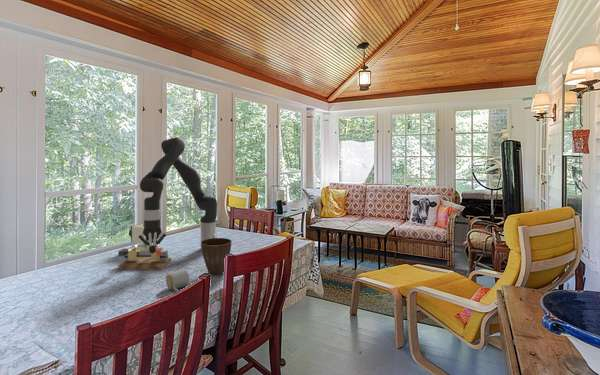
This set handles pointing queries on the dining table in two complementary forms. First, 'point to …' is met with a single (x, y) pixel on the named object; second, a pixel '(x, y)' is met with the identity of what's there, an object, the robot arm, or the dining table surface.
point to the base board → (144, 264)
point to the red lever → (158, 250)
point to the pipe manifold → (145, 255)
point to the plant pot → (215, 254)
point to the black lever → (126, 250)
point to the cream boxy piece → (134, 235)
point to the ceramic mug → (177, 280)
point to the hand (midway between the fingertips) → (152, 252)
